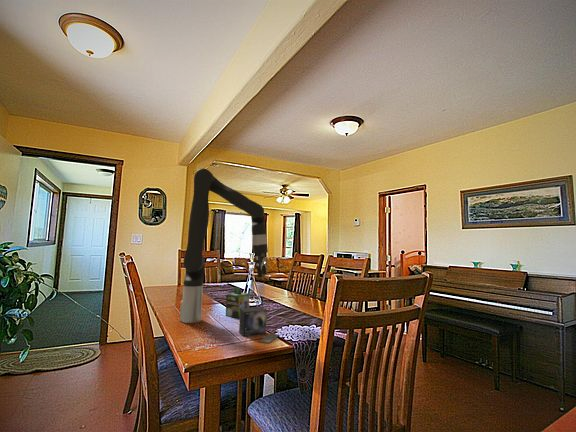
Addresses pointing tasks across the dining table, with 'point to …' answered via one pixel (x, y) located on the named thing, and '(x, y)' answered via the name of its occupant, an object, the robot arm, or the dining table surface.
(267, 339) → the felt mat
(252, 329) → the small box
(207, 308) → the dining table surface
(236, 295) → the chalk box
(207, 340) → the dining table surface
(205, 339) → the dining table surface
